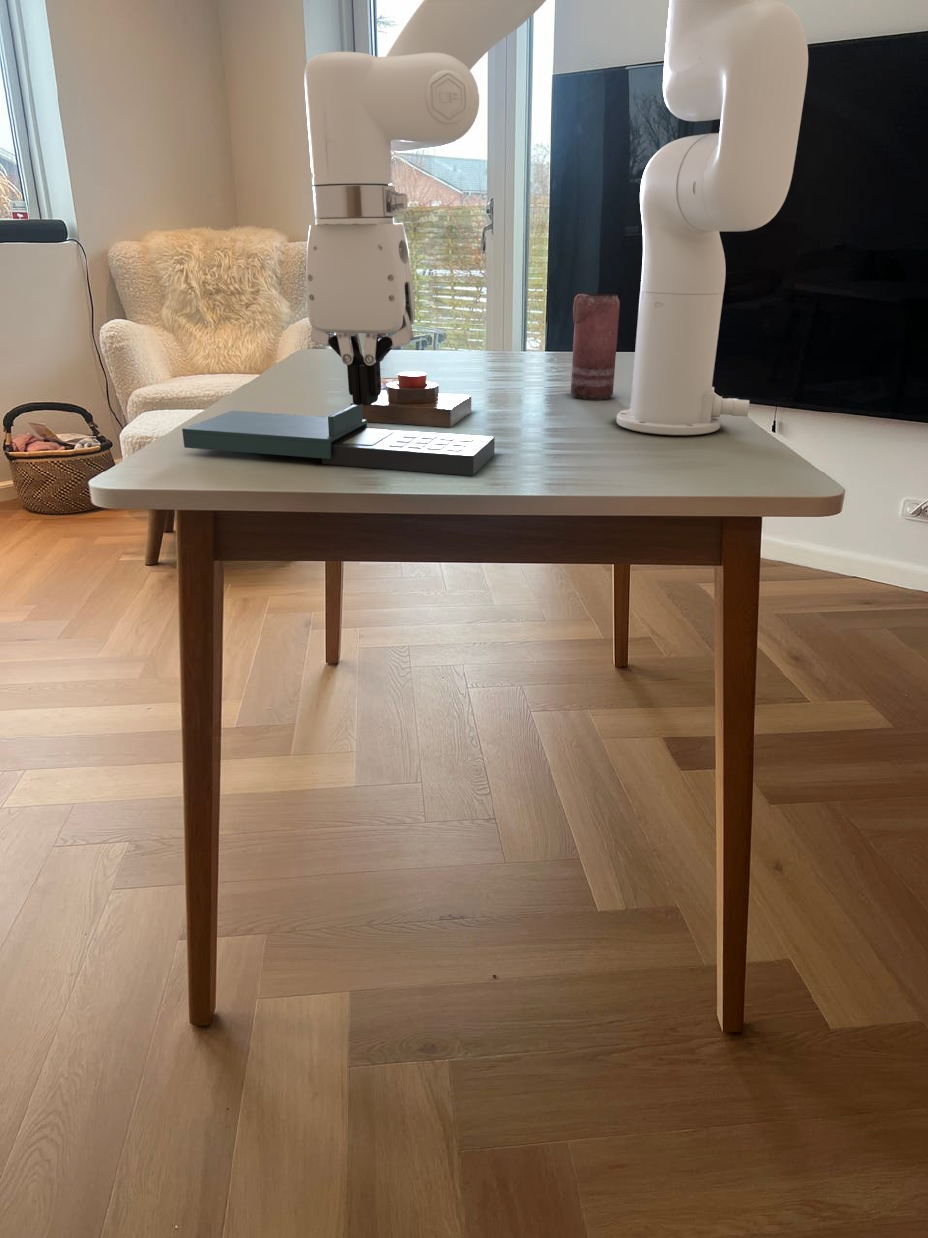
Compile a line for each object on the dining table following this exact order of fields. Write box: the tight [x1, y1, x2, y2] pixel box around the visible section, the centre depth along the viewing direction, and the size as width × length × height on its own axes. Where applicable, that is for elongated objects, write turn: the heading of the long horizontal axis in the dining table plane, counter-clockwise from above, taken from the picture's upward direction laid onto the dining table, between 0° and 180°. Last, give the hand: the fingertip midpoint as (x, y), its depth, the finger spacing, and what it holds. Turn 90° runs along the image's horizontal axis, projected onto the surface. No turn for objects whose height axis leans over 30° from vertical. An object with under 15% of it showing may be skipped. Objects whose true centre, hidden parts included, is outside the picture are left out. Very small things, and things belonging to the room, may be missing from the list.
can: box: [570, 293, 621, 401], centre depth 124 cm, size 6×6×14 cm
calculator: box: [321, 427, 496, 477], centre depth 91 cm, size 16×9×2 cm, turn 75°
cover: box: [181, 404, 368, 459], centre depth 94 cm, size 17×10×4 cm, turn 75°
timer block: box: [350, 380, 472, 428], centre depth 111 cm, size 13×10×4 cm
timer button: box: [397, 371, 427, 388], centre depth 110 cm, size 4×4×2 cm
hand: (365, 402), depth 90 cm, fingers closed
